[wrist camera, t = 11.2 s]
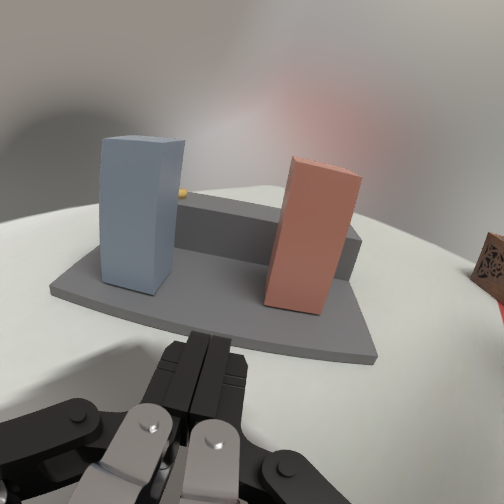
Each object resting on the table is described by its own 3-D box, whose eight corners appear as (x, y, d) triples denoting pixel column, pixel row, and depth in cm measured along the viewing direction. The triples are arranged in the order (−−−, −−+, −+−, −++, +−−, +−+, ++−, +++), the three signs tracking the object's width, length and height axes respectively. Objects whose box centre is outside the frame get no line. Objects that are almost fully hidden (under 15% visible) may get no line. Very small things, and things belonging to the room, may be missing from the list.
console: (336, 264, 38) (350, 216, 36) (373, 365, 21) (408, 294, 18) (135, 225, 38) (138, 177, 36) (51, 294, 21) (40, 221, 18)
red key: (314, 286, 29) (346, 169, 24) (320, 314, 24) (362, 177, 20) (266, 277, 29) (292, 156, 24) (263, 304, 25) (295, 161, 20)
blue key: (172, 268, 27) (185, 140, 23) (153, 295, 23) (163, 142, 18) (126, 258, 27) (132, 135, 23) (102, 281, 23) (102, 138, 18)
